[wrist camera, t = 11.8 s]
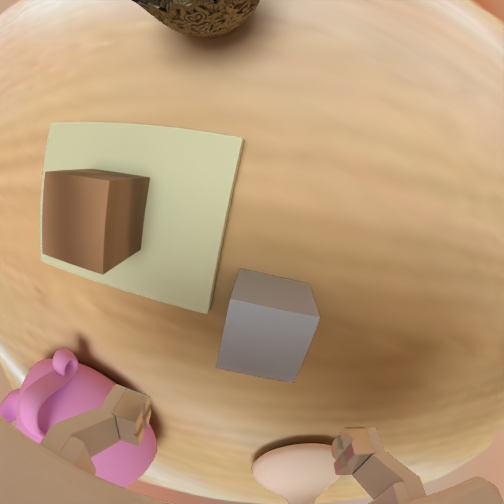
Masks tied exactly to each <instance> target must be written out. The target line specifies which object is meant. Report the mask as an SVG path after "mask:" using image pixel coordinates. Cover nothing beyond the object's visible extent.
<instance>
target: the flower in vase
mask: <svg viewBox="0 0 504 504" xmlns="http://www.w3.org/2000/svg"><path fill="white" fill-rule="evenodd" d="M331 447H332V446H331V445H326V444H317V443H307V444H296V445H289V446H284V447H280V448H277V449H274V450H271V451H269V452H267V453H265V454H263V455H262V456H260V457H259V458H258V459H257V460H256V461H255V462H254V463H253V465H252V468H251V470H252V474H253V476H254V478H255V479H256V481H257V482H259V483H260V484H261V485H262V486H263V487H265V488H267V489H268V490H270V491H272V492H273V493H275V494H277V495H279V496H281V497H282V498H284V499H285V500H287V501H288V503H289V504H314V502H315V500H316V498H317V497H318V496H319V495H320V494H321V493H322V492H323V491H325V490H326V489H327V488H328V487H330V486H331V485H332V484H333V483H334V482H336V481H337V480H338V479H339V478H340V477H341V475H336V474H335V469H334V462H335V461H336V459H334V458H333V457H332V453H331Z"/></svg>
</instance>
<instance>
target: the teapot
mask: <svg viewBox="0 0 504 504" xmlns="http://www.w3.org/2000/svg"><path fill="white" fill-rule="evenodd" d="M115 385H116V383H114V382H113V381H112V380H110V379H109V378H107V377H106V376H104V375H103V374H101V373H100V372H98V371H96V370H94V369H92V368H90V367H88V366H86V365H83V364H81V363H78V360H77V358H76V356H75V355H74V354H73V353H72V352H71V351H70V350H68V349H64V348H63V349H58V350H57V351H56V352H55V354H54V357H53V359H45V360H42V361H39V362H37V363H36V364H35V365H34V366H33V367H32V368H31V370H30V371H29V373H28V375H27V376H26V378H25V380H24V382H23V384H22V386H21V388H20V389H16V390H14V391H12V392H11V393H9V394H8V395H7V396H6V397H5V398H4V400H3V401H2V403H1V404H0V416H2V417H3V418H4V419H5V420H6V421H8V422H9V423H11V422H12V421H14V420H16V428H17V429H18V430H19V431H21V432H22V433H24V434H25V435H26V436H28V437H29V438H31V439H32V440H34V441H35V442H37V443H38V444H39V443H40V442H41V440H42V439H43V438H44V436H45V435H46V433H47V432H48V430H49V429H50V428H51V426H52V425H53V424H55V423H57V422H60V421H63V420H66V419H68V418H71V417H74V416H76V415H79V414H82V413H84V412H87V411H89V410H92V409H94V408H98V409H100V407H101V405H102V404H103V402H104V401H105V399H106V397H107V396H108V394H109V393H110V391H111V390H112V388H113V386H115ZM143 433H144V436H143V438H142V440H141V443H140V445H139V446H136V445H134V444H131V443H128V442H125V441H122V440H120V441H119V442H117V443H115V444H114V445H112V446H111V447H109V448H107V449H105V450H104V451H102V452H100V453H99V454H97V455H95V456H93V457H92V458H91V460H92V462H93V464H94V466H95V468H96V470H97V471H96V474H95V476H98V477H100V478H102V479H104V480H107V481H109V482H111V483H114V484H116V485H119V486H121V487H124V488H125V487H126V486H128V485H130V484H131V483H133V482H134V481H136V480H137V479H138V478H139V477H140V476H142V475H143V473H144V472H145V471H146V470H147V469H148V467H149V466H150V464H151V463H152V461H153V459H154V457H155V455H156V452H157V441H156V437H155V434H154V432H153V430H152V428H151V425H150V423H148V426H147V428H145V429H143Z"/></svg>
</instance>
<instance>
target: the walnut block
mask: <svg viewBox="0 0 504 504" xmlns="http://www.w3.org/2000/svg"><path fill="white" fill-rule="evenodd" d="M149 182H150V177H145V176H139V175H132V174H126V173H119V172H112V171H105V170H98V169H76V170H60V171H48V172H45V179H44V190H43V207H42V253H43V254H45V255H47V256H50V257H53V258H55V259H58V260H61V261H64V262H67V263H69V264H72V265H75V266H78V267H81V268H84V269H87V270H90V271H93V272H96V273H99V274H102V275H104V274H105V273H106V272H108V271H109V270H111V269H112V268H114V267H115V266H117V265H118V264H120V263H121V262H123V261H124V260H126V259H127V258H129V257H130V256H132V255H133V254H135V253H137V252H138V251H140V250H141V242H142V233H143V224H144V216H145V208H146V201H147V194H148V188H149Z"/></svg>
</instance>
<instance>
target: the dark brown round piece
mask: <svg viewBox="0 0 504 504" xmlns="http://www.w3.org/2000/svg"><path fill="white" fill-rule="evenodd" d="M132 1H134V2H136V3H137V4H139V5H140V6H141V7H143V8H144V9H145V10H146V11H148V12H149V13H150V14H151V15H153V16H154V17H155V18H156V19H158V20H159V21H160V22H162V23H163V24H165V25H166V26H168V27H169V28H171V29H173V30H175V31H177V32H180V33H183V34H187V35H192V36H208V37H219V36H223V35H226V34H228V33H230V32H232V31H233V30H234V29H235V28H236V27H237V26H239V25H240V24H242V23H243V22H244V21H245V20H247V19H248V18H249V16H250V15H251V14H252V13H253V12H254V10H255V9H256V7H257V5H258V3H259V0H132Z"/></svg>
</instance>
